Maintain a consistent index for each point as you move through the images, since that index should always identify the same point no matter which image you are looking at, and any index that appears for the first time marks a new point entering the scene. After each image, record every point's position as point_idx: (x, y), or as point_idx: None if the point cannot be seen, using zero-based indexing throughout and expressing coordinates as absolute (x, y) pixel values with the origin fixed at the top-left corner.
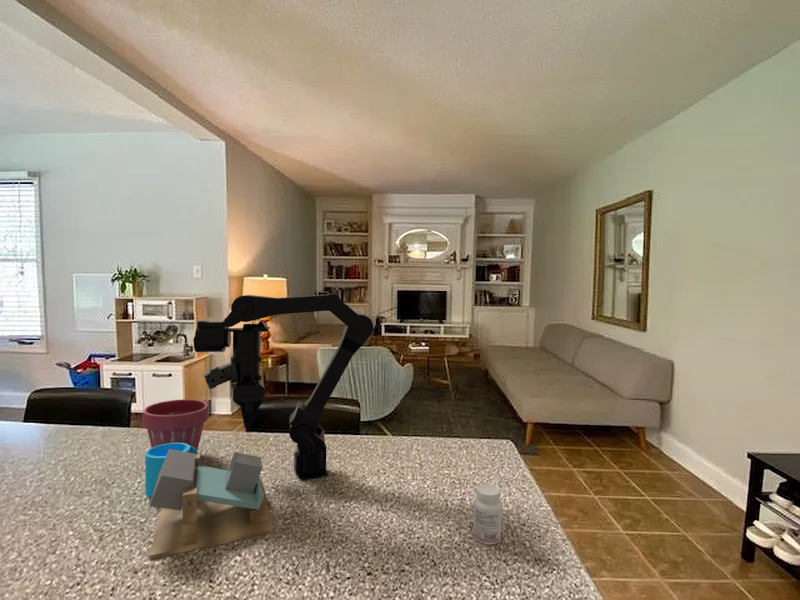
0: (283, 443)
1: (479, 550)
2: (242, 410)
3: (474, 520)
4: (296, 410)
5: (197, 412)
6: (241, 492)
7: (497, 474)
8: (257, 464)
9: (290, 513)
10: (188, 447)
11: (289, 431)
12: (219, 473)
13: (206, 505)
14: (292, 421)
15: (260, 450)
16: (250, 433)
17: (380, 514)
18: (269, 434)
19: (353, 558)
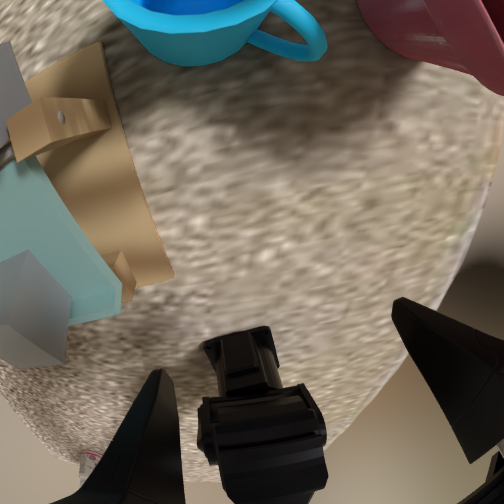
0: (418, 270)
1: (73, 446)
2: (98, 469)
3: (86, 463)
4: (259, 486)
5: (498, 48)
6: None
7: (211, 475)
8: (16, 363)
9: (74, 335)
10: (212, 24)
11: (215, 431)
12: (34, 230)
13: (61, 169)
14: (221, 463)
15: (403, 224)
16: (485, 187)
17: (104, 417)
18: (469, 230)
19: (21, 385)
